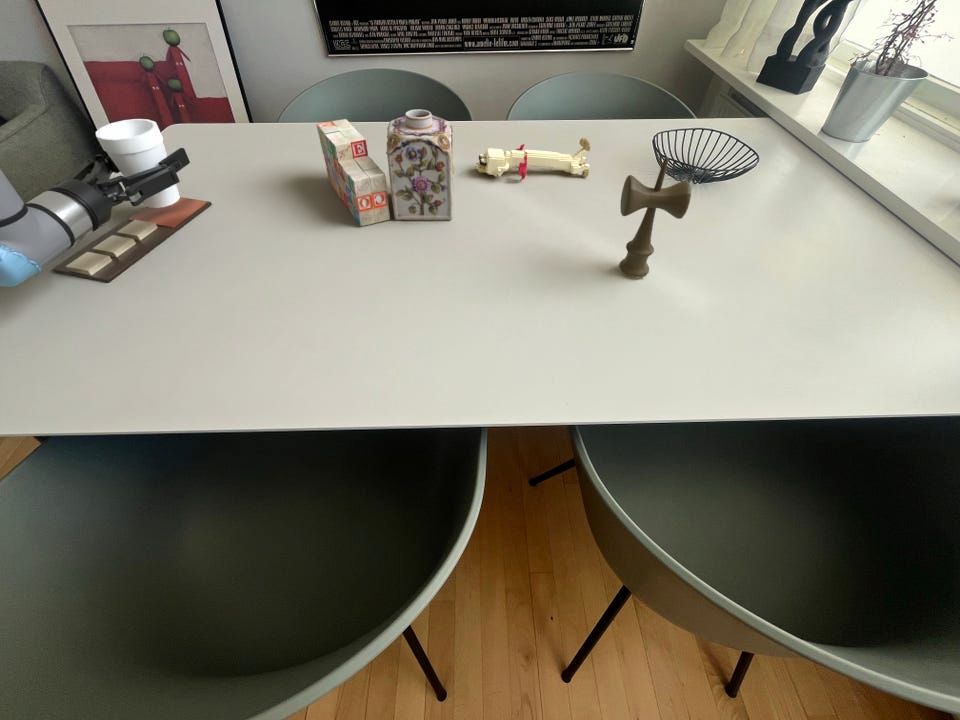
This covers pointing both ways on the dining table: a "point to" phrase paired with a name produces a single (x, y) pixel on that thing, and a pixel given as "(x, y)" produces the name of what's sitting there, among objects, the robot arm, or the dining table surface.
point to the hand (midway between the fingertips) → (160, 153)
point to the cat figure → (533, 160)
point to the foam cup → (137, 153)
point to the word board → (130, 240)
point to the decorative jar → (421, 166)
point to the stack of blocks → (354, 172)
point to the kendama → (649, 216)
